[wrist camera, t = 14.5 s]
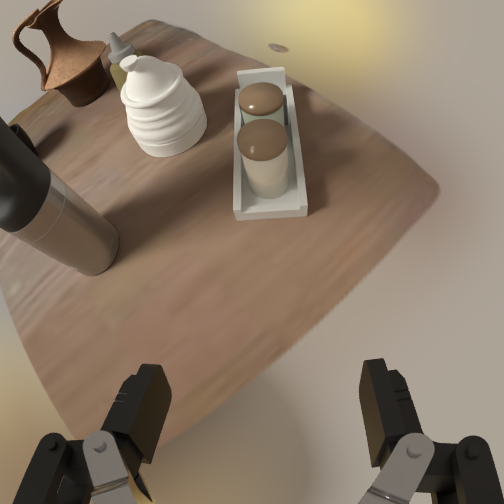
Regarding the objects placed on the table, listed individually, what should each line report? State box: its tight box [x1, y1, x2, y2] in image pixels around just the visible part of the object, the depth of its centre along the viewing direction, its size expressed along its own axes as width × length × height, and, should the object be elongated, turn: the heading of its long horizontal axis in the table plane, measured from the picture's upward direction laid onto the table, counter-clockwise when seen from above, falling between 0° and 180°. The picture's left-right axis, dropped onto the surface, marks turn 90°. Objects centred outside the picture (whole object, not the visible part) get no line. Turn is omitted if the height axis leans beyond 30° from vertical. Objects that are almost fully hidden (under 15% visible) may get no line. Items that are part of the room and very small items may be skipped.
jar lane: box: [233, 67, 308, 221], centre depth 44 cm, size 24×10×7 cm, turn 1°
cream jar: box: [237, 119, 289, 199], centre depth 39 cm, size 6×6×10 cm
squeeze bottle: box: [108, 33, 144, 94], centre depth 47 cm, size 8×8×18 cm
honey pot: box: [120, 55, 207, 157], centre depth 43 cm, size 13×13×18 cm
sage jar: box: [238, 82, 285, 128], centre depth 42 cm, size 6×6×10 cm
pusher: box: [238, 95, 289, 125], centre depth 45 cm, size 5×7×6 cm
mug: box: [9, 124, 38, 157], centre depth 52 cm, size 8×12×10 cm
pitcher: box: [12, 0, 109, 107], centre depth 49 cm, size 18×17×28 cm
